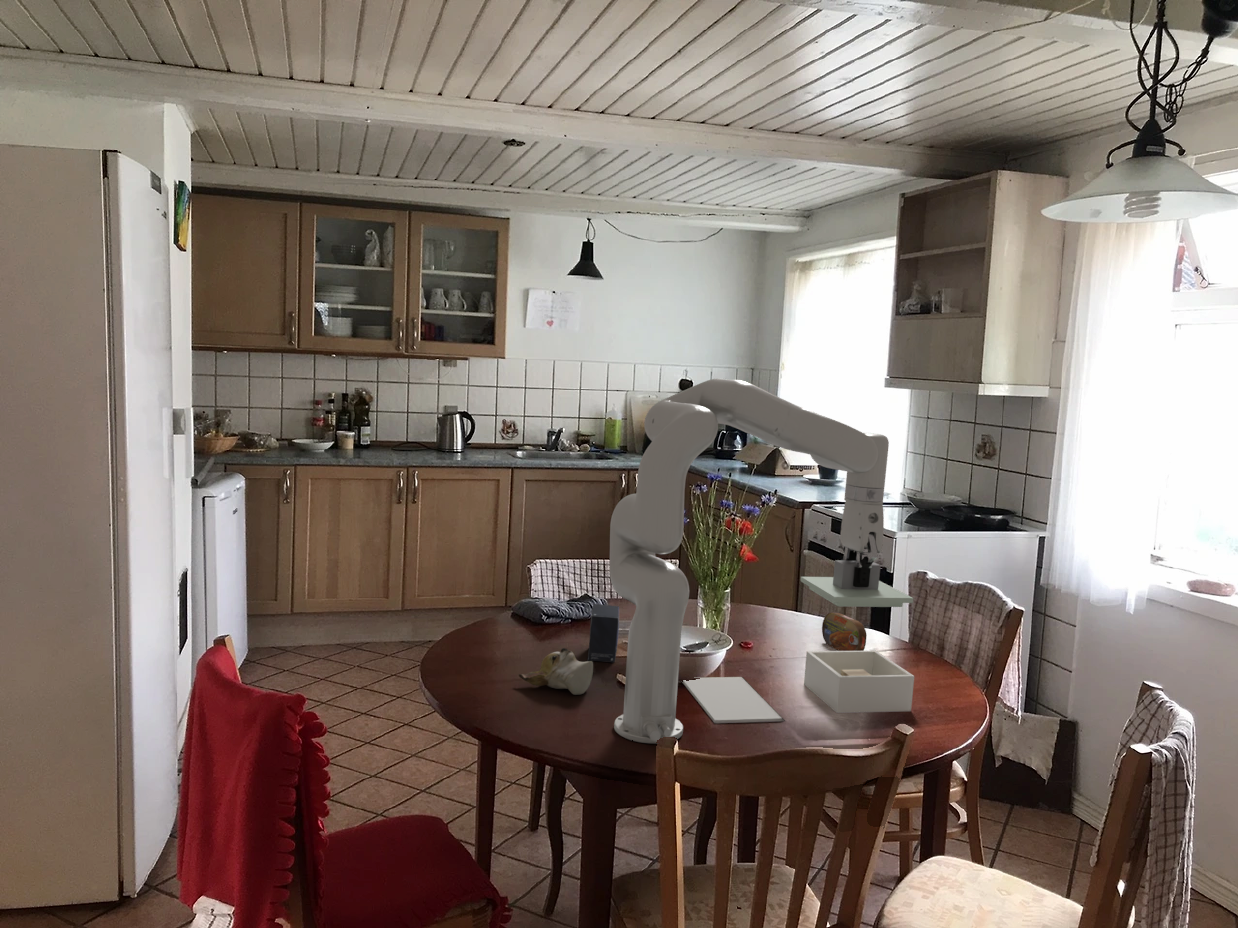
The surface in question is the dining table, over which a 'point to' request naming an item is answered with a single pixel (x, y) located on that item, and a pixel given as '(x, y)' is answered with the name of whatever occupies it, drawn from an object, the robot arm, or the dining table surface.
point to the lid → (856, 588)
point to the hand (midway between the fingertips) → (855, 583)
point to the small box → (603, 633)
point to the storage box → (858, 682)
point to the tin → (843, 632)
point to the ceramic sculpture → (562, 672)
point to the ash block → (854, 672)
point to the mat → (731, 700)
